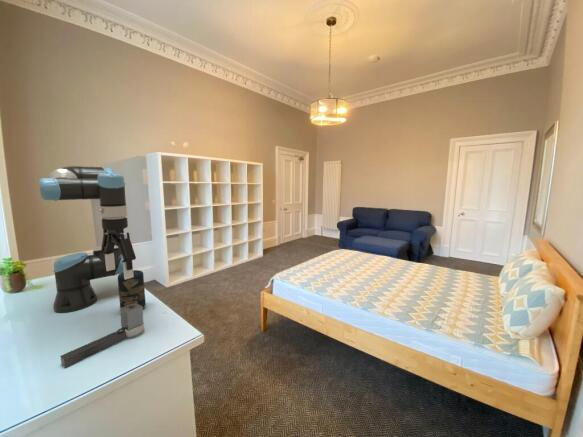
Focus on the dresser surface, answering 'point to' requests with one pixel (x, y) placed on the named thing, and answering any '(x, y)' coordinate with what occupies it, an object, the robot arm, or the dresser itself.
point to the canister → (131, 289)
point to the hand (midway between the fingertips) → (119, 274)
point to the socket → (131, 316)
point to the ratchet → (100, 345)
